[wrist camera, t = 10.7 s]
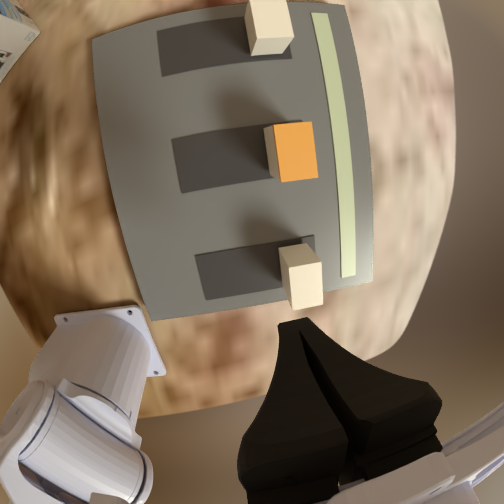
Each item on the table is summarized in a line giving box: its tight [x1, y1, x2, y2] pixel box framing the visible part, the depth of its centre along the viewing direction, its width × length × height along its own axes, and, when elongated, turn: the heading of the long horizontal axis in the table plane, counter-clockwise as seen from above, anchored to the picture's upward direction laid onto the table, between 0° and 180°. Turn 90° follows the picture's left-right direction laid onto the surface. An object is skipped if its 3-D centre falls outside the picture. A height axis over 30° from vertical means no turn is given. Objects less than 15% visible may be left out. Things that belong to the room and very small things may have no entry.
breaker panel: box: [92, 0, 373, 321], centre depth 17 cm, size 18×22×5 cm
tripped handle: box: [264, 121, 318, 182], centre depth 16 cm, size 2×3×4 cm, turn 8°
